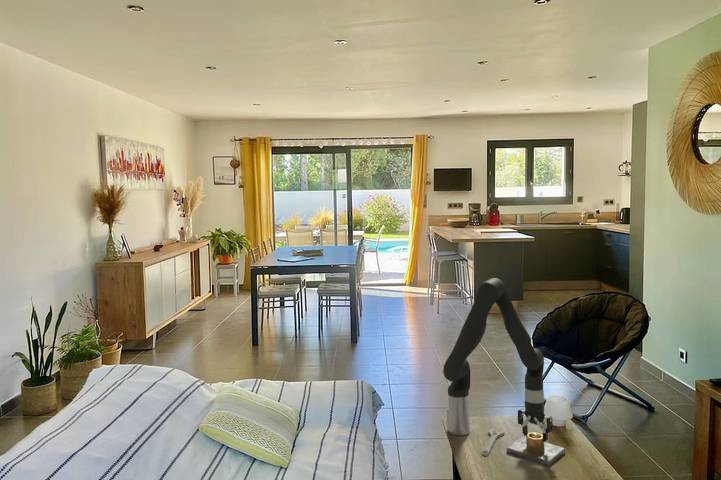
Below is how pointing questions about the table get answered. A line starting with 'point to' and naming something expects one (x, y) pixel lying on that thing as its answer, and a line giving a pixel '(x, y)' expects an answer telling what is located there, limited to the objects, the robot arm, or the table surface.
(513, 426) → the table surface
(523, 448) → the block
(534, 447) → the wooden octagonal ring
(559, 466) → the table surface
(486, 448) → the adjustable wrench
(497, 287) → the robot arm
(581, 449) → the table surface
